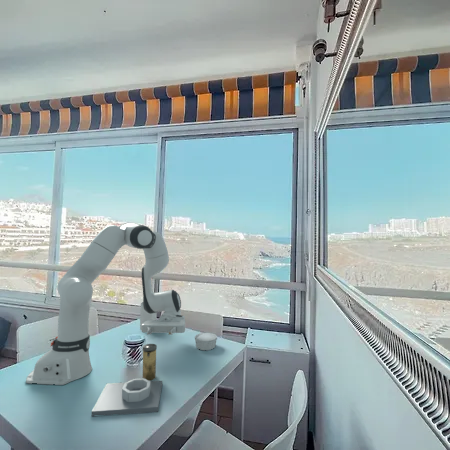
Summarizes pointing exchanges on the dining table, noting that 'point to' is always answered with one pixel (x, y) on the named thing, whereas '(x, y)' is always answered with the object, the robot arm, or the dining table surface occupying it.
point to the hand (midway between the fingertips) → (159, 332)
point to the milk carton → (146, 315)
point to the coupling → (149, 361)
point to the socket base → (129, 397)
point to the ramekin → (205, 341)
